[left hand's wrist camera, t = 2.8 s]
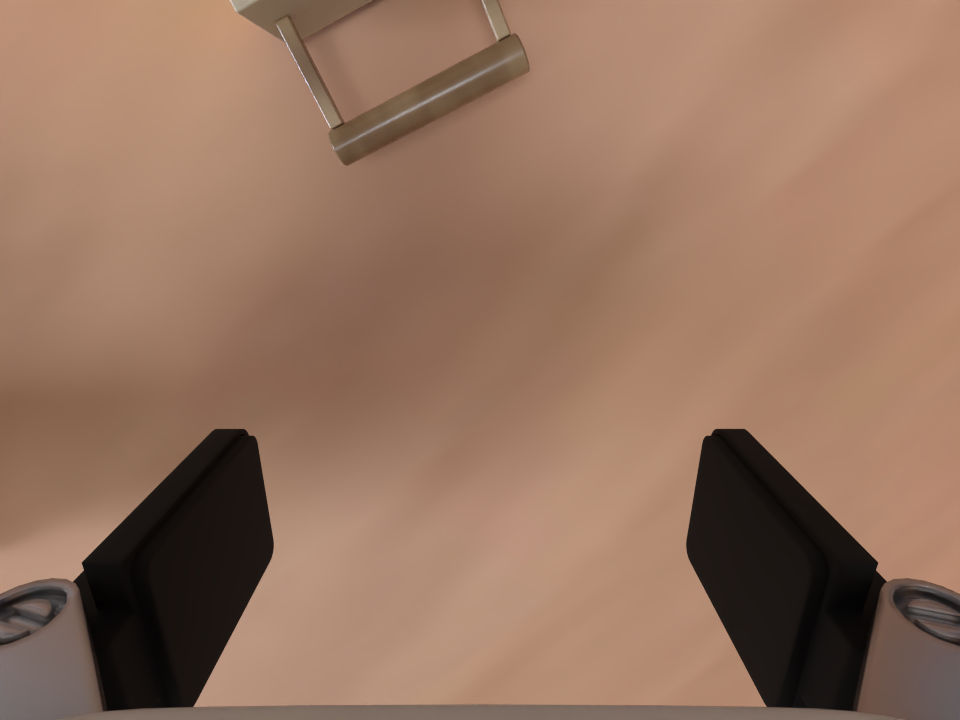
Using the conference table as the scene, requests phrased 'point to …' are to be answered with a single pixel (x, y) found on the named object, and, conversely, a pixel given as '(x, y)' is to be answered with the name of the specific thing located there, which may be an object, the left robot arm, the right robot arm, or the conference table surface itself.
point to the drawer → (318, 3)
